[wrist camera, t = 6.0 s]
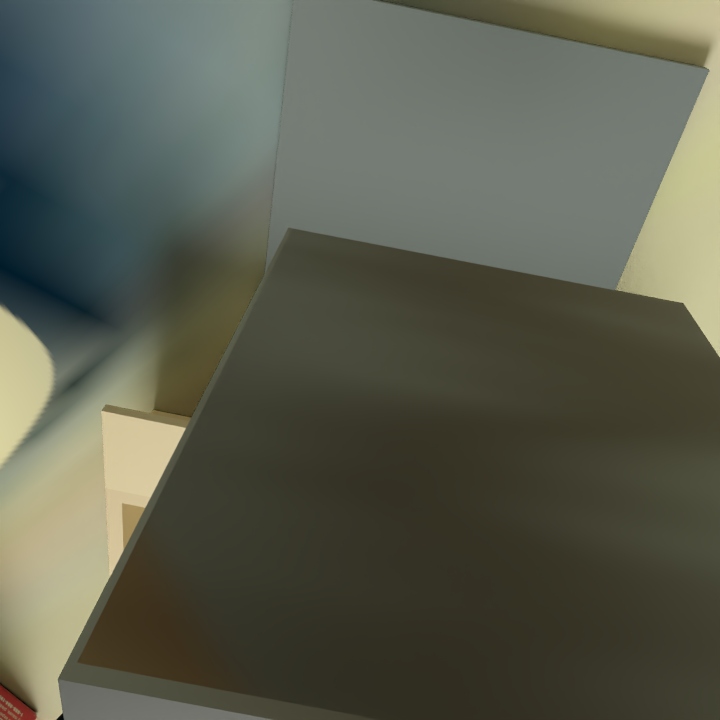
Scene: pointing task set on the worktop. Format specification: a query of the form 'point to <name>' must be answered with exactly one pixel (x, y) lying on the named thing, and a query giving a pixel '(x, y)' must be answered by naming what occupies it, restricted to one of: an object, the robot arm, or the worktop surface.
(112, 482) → the beige open box
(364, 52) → the mat
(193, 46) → the worktop surface
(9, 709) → the ink box
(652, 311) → the gray and brown box
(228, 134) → the worktop surface
